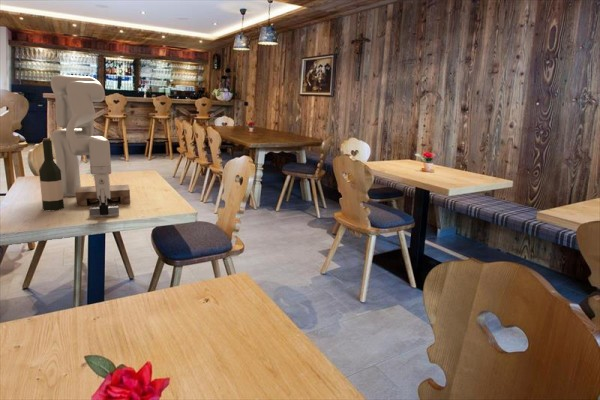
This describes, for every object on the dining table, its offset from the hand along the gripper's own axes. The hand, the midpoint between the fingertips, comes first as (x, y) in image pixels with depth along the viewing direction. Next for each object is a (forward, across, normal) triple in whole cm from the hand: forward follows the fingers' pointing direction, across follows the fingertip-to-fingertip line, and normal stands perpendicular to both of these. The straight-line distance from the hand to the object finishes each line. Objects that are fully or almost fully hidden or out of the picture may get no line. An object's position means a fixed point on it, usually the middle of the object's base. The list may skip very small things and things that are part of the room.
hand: (104, 214), depth 178 cm
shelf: (+1, +27, 0) cm, 27 cm away
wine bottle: (+1, +21, +20) cm, 29 cm away
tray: (+2, +10, 0) cm, 10 cm away
